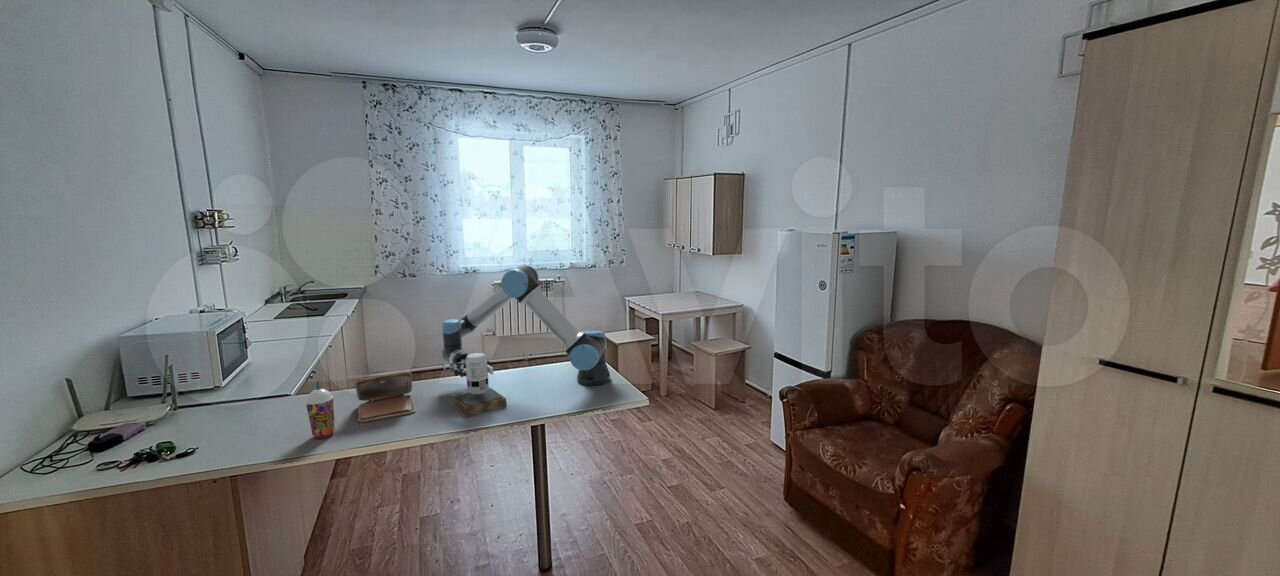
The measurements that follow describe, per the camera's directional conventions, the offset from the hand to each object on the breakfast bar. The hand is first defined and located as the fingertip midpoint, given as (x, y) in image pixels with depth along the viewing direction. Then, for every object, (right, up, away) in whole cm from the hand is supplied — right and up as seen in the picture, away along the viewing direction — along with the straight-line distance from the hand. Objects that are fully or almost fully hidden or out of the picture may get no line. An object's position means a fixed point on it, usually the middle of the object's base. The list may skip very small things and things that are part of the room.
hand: (481, 373), depth 199 cm
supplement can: (-3, -8, +5) cm, 10 cm away
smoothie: (-50, -19, -19) cm, 57 cm away
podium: (-3, -14, +6) cm, 16 cm away
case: (-39, -15, +4) cm, 42 cm away
